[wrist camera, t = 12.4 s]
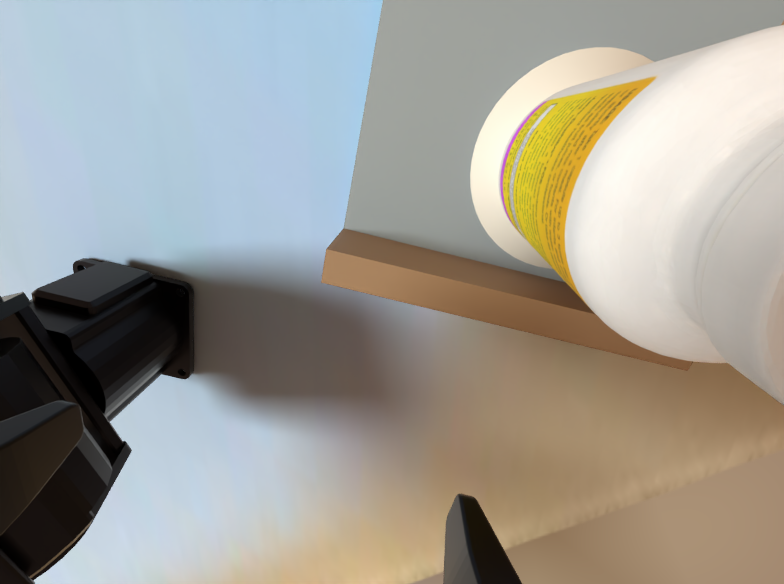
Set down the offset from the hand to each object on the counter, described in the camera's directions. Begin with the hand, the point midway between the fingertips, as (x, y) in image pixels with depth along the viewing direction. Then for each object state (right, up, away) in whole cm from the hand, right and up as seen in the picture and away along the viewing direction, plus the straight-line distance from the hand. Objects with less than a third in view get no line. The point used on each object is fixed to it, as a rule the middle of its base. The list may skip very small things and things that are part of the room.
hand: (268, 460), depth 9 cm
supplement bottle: (+11, +9, +7) cm, 16 cm away
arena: (+10, +10, +8) cm, 16 cm away
